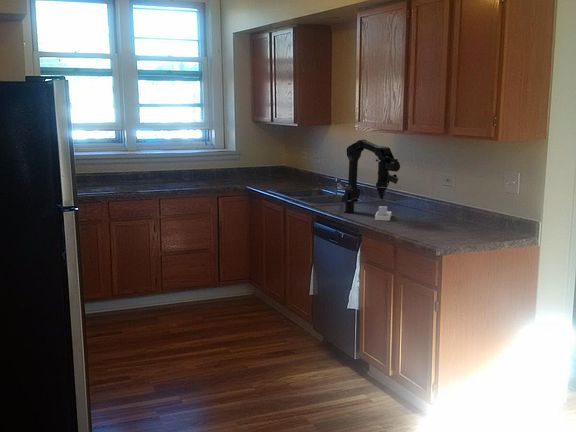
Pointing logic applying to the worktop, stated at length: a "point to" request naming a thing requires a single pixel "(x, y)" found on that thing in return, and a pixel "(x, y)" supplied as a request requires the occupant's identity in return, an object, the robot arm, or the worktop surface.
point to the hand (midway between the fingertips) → (382, 198)
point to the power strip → (383, 216)
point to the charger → (382, 210)
